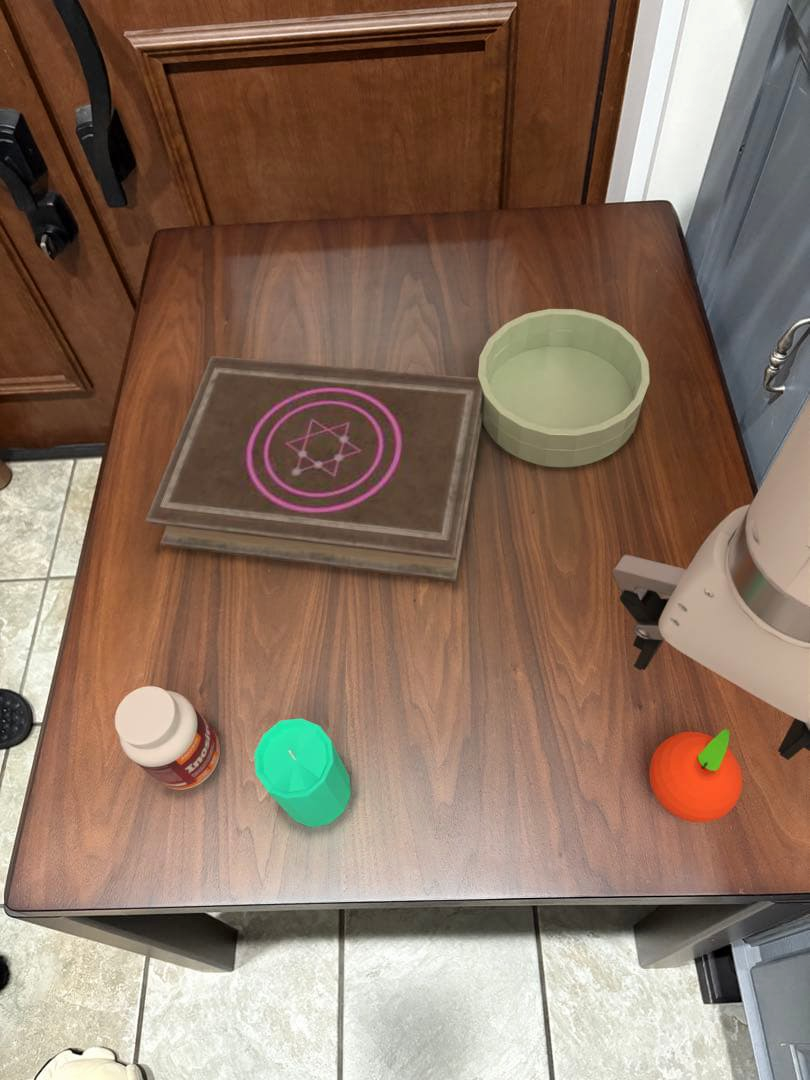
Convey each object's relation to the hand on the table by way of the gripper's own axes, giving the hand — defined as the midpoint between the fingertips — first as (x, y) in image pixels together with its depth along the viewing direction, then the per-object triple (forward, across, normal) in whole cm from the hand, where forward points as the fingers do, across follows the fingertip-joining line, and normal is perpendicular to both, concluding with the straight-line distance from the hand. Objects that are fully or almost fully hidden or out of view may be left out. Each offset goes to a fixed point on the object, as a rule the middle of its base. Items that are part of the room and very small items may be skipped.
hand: (718, 693), depth 50 cm
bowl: (+19, +28, -30) cm, 45 cm away
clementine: (+19, -2, -1) cm, 20 cm away
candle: (+19, +22, +18) cm, 35 cm away
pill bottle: (+19, +34, +23) cm, 45 cm away
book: (+19, +43, -8) cm, 48 cm away
